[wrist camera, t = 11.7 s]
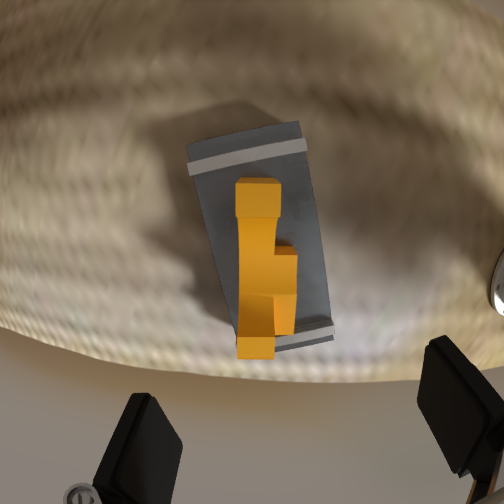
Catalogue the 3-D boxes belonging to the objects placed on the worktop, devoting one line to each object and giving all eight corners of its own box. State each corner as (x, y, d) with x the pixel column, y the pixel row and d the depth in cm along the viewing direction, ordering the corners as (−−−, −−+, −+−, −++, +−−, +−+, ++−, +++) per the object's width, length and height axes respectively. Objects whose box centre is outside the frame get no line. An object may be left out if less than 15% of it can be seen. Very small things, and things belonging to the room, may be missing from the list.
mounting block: (290, 127, 26) (300, 118, 20) (323, 315, 32) (336, 346, 26) (197, 147, 27) (182, 144, 21) (243, 330, 33) (242, 365, 27)
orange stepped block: (289, 315, 26) (298, 358, 20) (240, 315, 26) (237, 359, 20) (296, 178, 23) (311, 185, 17) (240, 177, 23) (235, 183, 17)
